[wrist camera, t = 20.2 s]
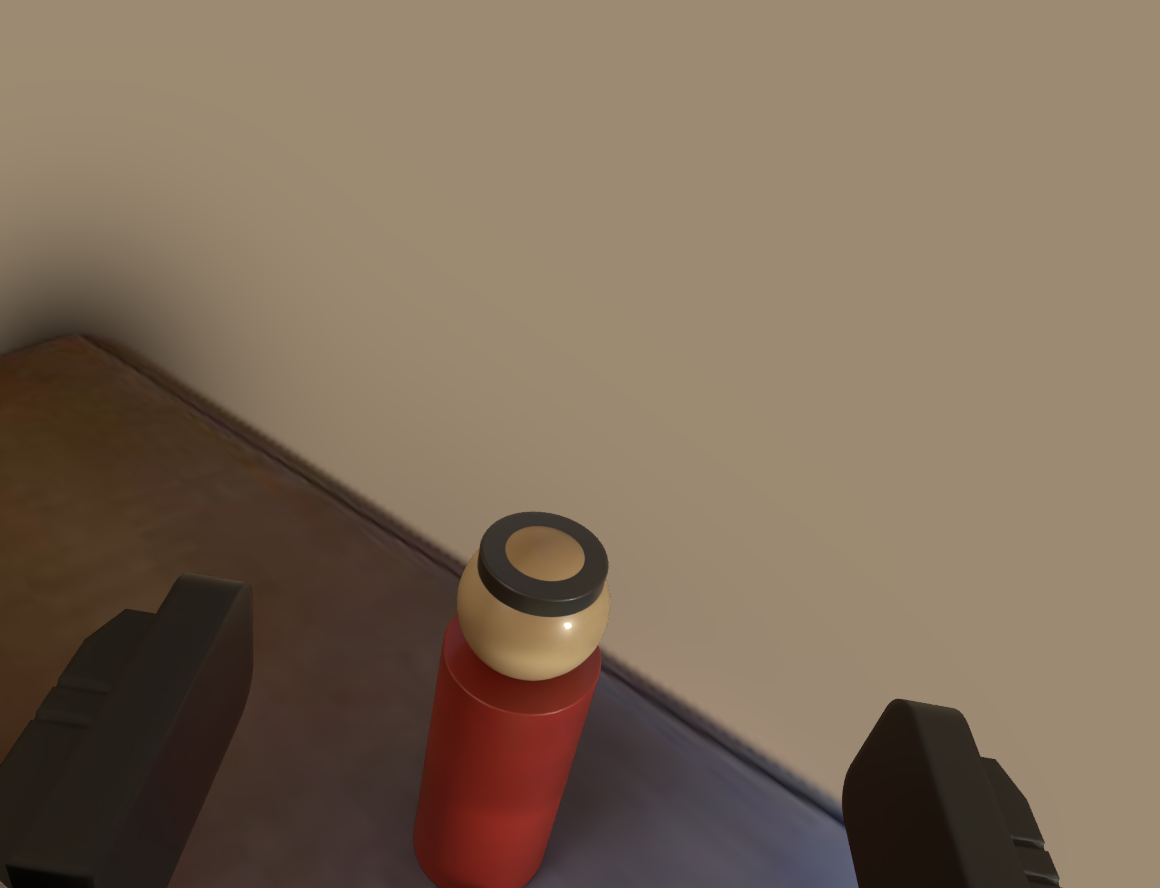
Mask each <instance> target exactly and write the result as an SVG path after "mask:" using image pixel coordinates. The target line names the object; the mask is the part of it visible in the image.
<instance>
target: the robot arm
mask: <svg viewBox="0 0 1160 888" xmlns="http://www.w3.org/2000/svg"><path fill="white" fill-rule="evenodd" d="M252 673H253V610H252V588H251V585H250V584H249V583H246V582H240V581H234V580H229V579H223V578H217V577H211V576H206V575H200V574H194V573H188V572H186V573H183V574H182V575H181V576H180V577H179V578H178V579H177V580H176V582H175V583H174V585H173V586H172V588H171V590H170V591H169V593H168V595H167V596H166V598H165V600H164V601H163V603H162V605H161V606H160V608H159V610H158V611H157V613H156V614H153V613H148V612H142V611H136V610H130V609H125V610H124V611H122V612H121V613H120V614H118V615H117V616H116V617H114V618H113V619H112V620H110V621H109V622H108V623H106V624H105V625H104V626H102V627H101V628H100V629H98V630H97V631H96V632H94V633H93V634H92V635H90V636H89V637H88V638H86V639H85V640H84V642H83V643H82V645H81V646H80V648H79V649H78V651H77V652H76V653H75V655H74V656H73V658H72V659H71V661H70V662H69V664H68V665H67V667H66V668H65V670H64V671H63V673H62V674H61V676H60V677H59V679H58V684H57V686H56V687H53V688H52V689H51V691H50V692H49V694H48V695H47V697H46V698H45V700H44V701H43V703H42V704H41V706H40V707H39V709H38V710H37V711H36V717H35V719H34V720H30V722H29V723H28V725H27V726H26V728H25V729H24V731H23V732H22V734H21V735H20V737H19V738H18V740H17V741H16V743H15V744H14V746H13V747H12V749H11V750H10V752H9V753H8V755H7V756H6V758H5V759H4V761H3V762H2V764H1V765H0V888H167V886H168V883H169V881H170V879H171V877H172V874H173V872H174V870H175V867H176V865H177V863H178V861H179V858H180V856H181V854H182V851H183V849H184V847H185V844H186V842H187V840H188V838H189V835H190V833H191V831H192V828H193V826H194V824H195V822H196V819H197V817H198V815H199V812H200V810H201V808H202V806H203V803H204V801H205V799H206V796H207V794H208V792H209V789H210V787H211V785H212V783H213V780H214V778H215V776H216V773H217V771H218V769H219V767H220V764H221V762H222V760H223V757H224V755H225V753H226V751H227V748H228V746H229V744H230V741H231V739H232V737H233V735H234V732H235V730H236V728H237V725H238V723H239V721H240V718H241V716H242V713H243V710H244V708H245V704H246V701H247V698H248V694H249V690H250V685H251V680H252ZM842 810H843V818H844V823H845V827H846V832H847V837H848V841H849V846H850V850H851V855H852V859H853V864H854V868H855V873H856V877H857V882H858V886H859V888H1060V887H1059V882H1058V881H1059V876H1058V874H1057V871H1056V869H1055V867H1054V864H1053V862H1052V859H1051V857H1050V855H1049V852H1048V851H1045V850H1044V843H1045V842H1044V840H1043V838H1042V835H1041V833H1040V830H1039V828H1038V825H1037V823H1036V821H1035V818H1034V816H1033V813H1032V811H1031V809H1030V806H1029V804H1028V802H1027V799H1026V798H1025V797H1024V795H1023V794H1022V793H1021V792H1020V790H1019V789H1018V788H1017V786H1016V785H1015V784H1014V783H1013V781H1012V780H1011V779H1010V778H1009V776H1008V775H1007V774H1006V772H1005V771H1004V770H1003V768H1002V767H1001V766H1000V765H999V763H998V762H997V761H996V760H995V759H990V758H984V757H980V754H979V752H978V749H977V747H976V744H975V741H974V739H973V736H972V733H971V731H970V728H969V725H968V723H967V721H966V719H965V718H964V716H963V714H962V713H961V712H960V711H958V710H957V709H954V708H949V707H944V706H938V705H931V704H926V703H921V702H915V701H909V700H903V699H895V700H893V701H891V702H890V703H889V704H888V706H887V707H886V709H885V710H884V712H883V713H882V715H881V717H880V718H879V720H878V722H877V723H876V725H875V727H874V728H873V730H872V731H871V733H870V734H869V736H868V738H867V739H866V741H865V742H864V744H863V746H862V747H861V749H860V751H859V752H858V754H857V755H856V757H855V759H854V760H853V762H852V763H851V765H850V767H849V769H848V771H847V774H846V777H845V781H844V786H843V794H842Z"/></svg>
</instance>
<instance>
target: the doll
mask: <svg viewBox="0 0 1160 888" xmlns="http://www.w3.org/2000/svg"><path fill="white" fill-rule="evenodd" d="M607 573H608V558H607V554H606V551H605V549H604V547H603V545H602V544H601V542H600V541H599V540H598V538H597V537H596V536H595V535H594V534H593V533H591V532H590V531H589V530H588V529H586V528H585V527H584V526H582V525H581V524H578V523H577V522H575V521H573V520H571V519H568V518H566V517H563V516H560V515H556V514H551V513H545V512H521V513H516V514H513V515H509V516H506V517H504V518H502V519H500V520H498V521H496V522H495V523H494V524H493V525H491V526H490V528H489V529H488V530H487V531H486V532H485V534H484V535H483V537H482V540H481V544H480V548H479V549H478V550H477V551H476V553H475V554H474V555H473V556H472V558H471V559H470V561H469V562H468V564H467V566H466V568H465V570H464V572H463V575H462V577H461V580H460V584H459V588H458V594H457V612H458V613H457V614H456V615H455V616H454V618H453V619H452V620H451V622H450V623H449V625H448V627H447V629H446V632H445V634H444V639H443V644H442V651H441V658H440V664H439V671H438V677H437V684H436V690H435V697H434V703H433V710H432V716H431V723H430V729H429V736H428V742H427V749H426V755H425V762H424V768H423V775H422V781H421V788H420V794H419V801H418V807H417V814H416V821H415V827H414V848H415V852H416V856H417V858H418V861H419V863H420V865H421V867H422V869H423V870H424V872H425V873H426V875H427V876H428V877H429V878H430V879H431V880H432V881H433V882H434V883H435V884H436V885H437V886H438V887H440V888H522V887H524V886H525V885H526V884H527V883H528V882H529V881H530V880H531V879H532V878H533V876H534V875H535V874H536V872H537V871H538V869H539V867H540V865H541V863H542V860H543V857H544V854H545V851H546V847H547V844H548V841H549V838H550V834H551V831H552V828H553V825H554V821H555V818H556V815H557V812H558V808H559V805H560V802H561V798H562V795H563V792H564V789H565V785H566V782H567V779H568V776H569V772H570V769H571V766H572V763H573V759H574V756H575V753H576V749H577V746H578V743H579V740H580V736H581V733H582V730H583V727H584V723H585V720H586V717H587V714H588V710H589V707H590V704H591V701H592V697H593V694H594V691H595V687H596V684H597V681H598V678H599V674H600V669H601V655H600V649H599V646H598V644H599V642H600V640H601V639H602V637H603V634H604V632H605V629H606V627H607V624H608V619H609V614H610V590H609V585H608V580H607V578H606V577H607Z"/></svg>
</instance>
